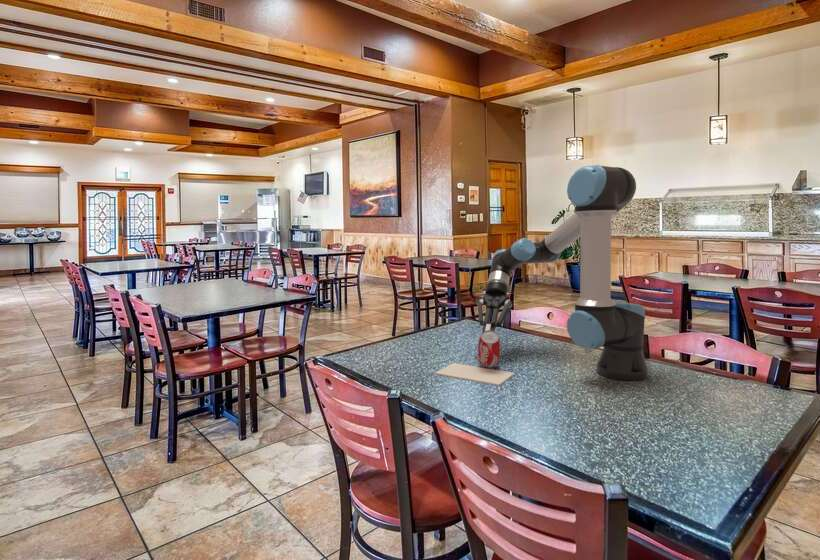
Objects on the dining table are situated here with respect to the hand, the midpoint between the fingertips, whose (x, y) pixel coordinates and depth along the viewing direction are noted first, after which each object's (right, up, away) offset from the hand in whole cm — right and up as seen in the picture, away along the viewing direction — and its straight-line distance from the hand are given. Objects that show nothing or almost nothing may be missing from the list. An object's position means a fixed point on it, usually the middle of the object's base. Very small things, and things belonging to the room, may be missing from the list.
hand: (485, 342), depth 168 cm
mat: (-5, -9, -7) cm, 13 cm away
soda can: (+1, -7, +2) cm, 7 cm away
